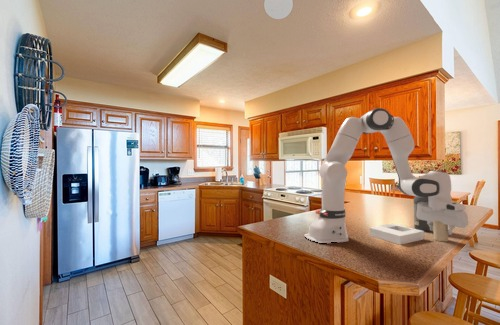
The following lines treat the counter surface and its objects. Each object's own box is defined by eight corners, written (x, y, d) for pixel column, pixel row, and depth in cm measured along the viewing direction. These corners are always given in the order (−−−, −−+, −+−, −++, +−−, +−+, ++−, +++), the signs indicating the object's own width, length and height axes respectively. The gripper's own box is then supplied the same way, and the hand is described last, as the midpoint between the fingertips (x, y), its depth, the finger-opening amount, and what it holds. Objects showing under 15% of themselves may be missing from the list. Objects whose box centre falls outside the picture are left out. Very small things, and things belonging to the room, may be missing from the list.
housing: (400, 244, 106) (399, 236, 106) (369, 235, 120) (369, 227, 120) (424, 239, 113) (424, 231, 113) (392, 230, 128) (392, 223, 128)
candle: (430, 238, 114) (430, 218, 114) (440, 237, 115) (440, 217, 115) (440, 241, 109) (440, 220, 109) (451, 241, 109) (450, 220, 109)
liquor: (433, 228, 130) (432, 175, 131) (435, 232, 123) (434, 176, 123) (414, 226, 135) (412, 175, 136) (414, 230, 128) (413, 176, 128)
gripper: (413, 201, 120) (414, 227, 120) (461, 207, 101) (462, 239, 101) (420, 200, 123) (421, 226, 122) (469, 206, 104) (470, 237, 104)
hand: (440, 232), depth 112 cm, fingers closed on candle, 5 cm apart
